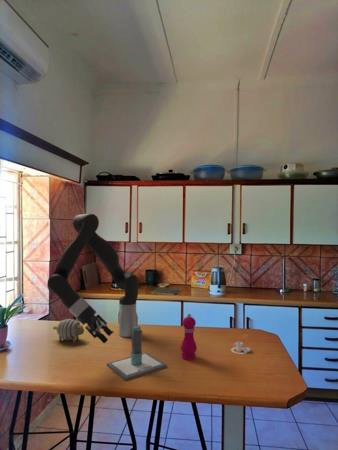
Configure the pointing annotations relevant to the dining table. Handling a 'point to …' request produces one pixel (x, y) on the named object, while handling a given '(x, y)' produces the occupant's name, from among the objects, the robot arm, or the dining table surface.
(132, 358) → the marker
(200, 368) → the dining table surface
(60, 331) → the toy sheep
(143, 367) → the grey flat block
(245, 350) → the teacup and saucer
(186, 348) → the pepper mill
